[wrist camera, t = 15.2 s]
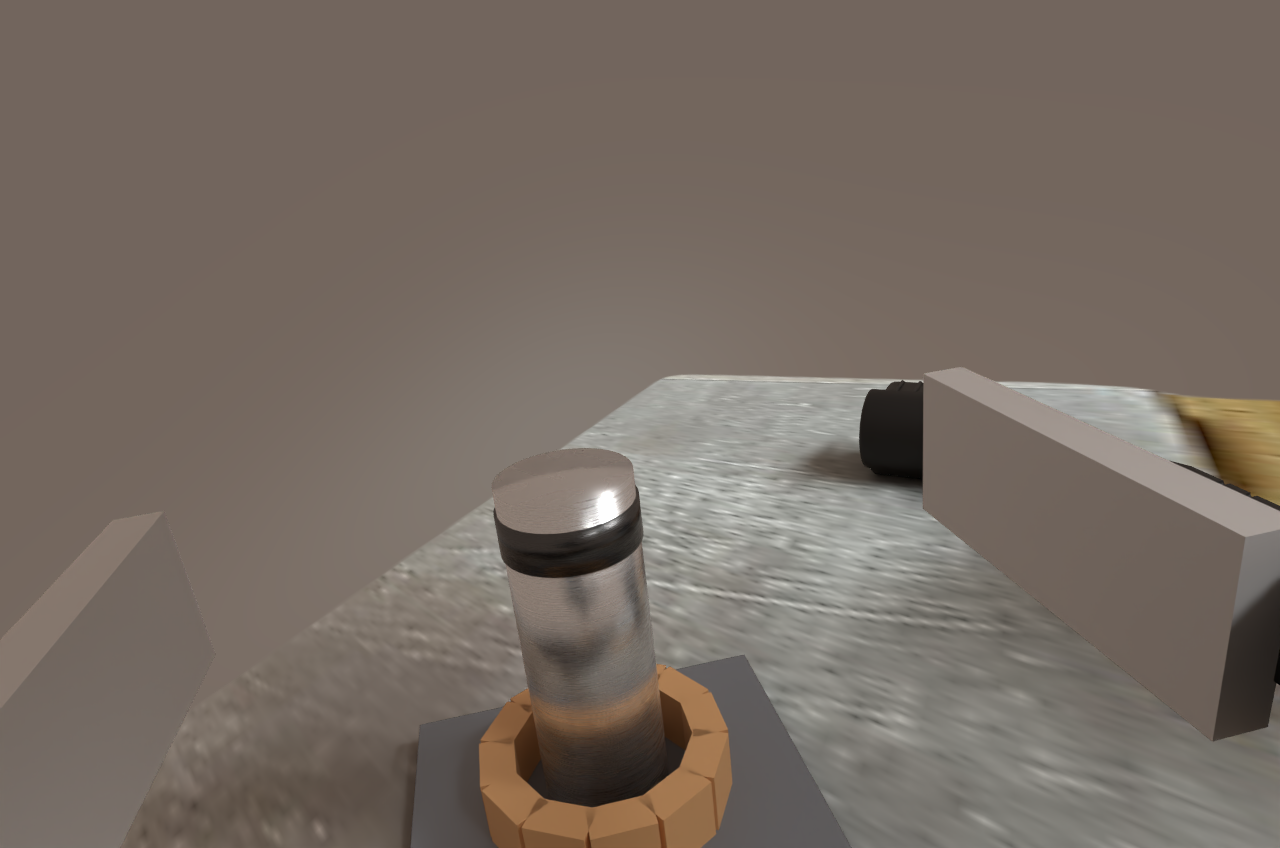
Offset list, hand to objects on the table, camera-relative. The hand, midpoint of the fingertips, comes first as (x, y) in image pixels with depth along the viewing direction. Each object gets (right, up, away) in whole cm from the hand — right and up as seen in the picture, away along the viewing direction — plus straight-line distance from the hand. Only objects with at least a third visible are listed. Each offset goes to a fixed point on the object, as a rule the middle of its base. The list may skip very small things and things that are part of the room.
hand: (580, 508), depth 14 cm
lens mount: (0, -15, +20) cm, 25 cm away
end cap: (+23, -3, +47) cm, 52 cm away
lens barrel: (0, -13, +19) cm, 23 cm away
